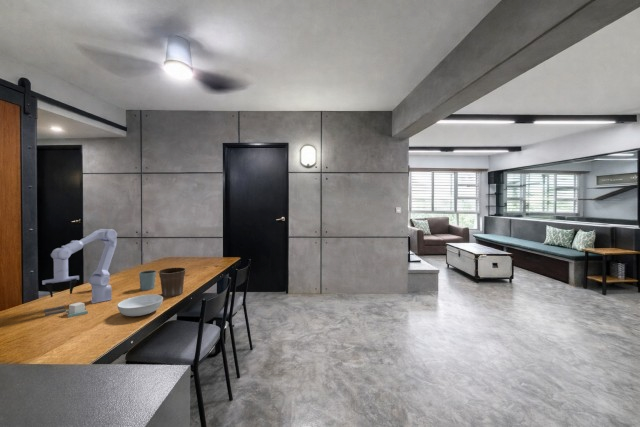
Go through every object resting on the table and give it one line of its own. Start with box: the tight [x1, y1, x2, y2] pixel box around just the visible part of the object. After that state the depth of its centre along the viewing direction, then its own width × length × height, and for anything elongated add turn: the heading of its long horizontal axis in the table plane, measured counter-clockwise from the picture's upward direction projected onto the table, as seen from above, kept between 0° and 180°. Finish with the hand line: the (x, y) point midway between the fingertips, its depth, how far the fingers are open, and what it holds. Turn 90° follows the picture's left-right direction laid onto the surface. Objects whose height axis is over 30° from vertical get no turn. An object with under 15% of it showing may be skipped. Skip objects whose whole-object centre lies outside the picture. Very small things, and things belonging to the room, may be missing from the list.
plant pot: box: [157, 267, 187, 298], centre depth 182 cm, size 16×16×16 cm
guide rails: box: [43, 305, 89, 318], centre depth 150 cm, size 16×20×1 cm
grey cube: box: [68, 301, 86, 315], centre depth 149 cm, size 4×5×5 cm
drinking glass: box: [138, 269, 157, 291], centre depth 194 cm, size 10×10×12 cm
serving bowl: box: [117, 294, 164, 317], centre depth 150 cm, size 21×21×7 cm
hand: (61, 295), depth 150 cm, fingers open, 7 cm apart
